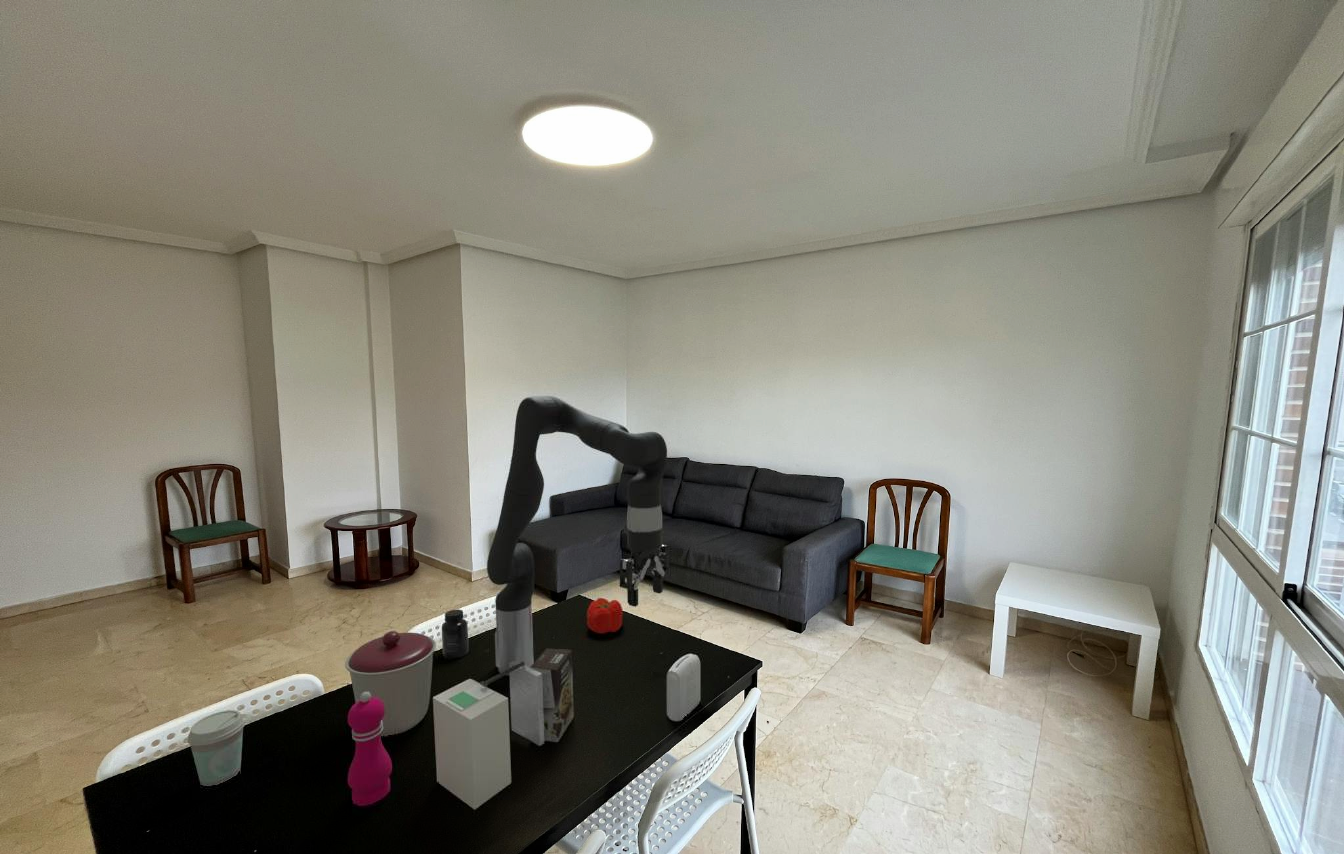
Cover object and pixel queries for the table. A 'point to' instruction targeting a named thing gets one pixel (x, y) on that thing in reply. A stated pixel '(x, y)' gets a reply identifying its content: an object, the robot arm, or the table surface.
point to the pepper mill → (368, 752)
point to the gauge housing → (472, 742)
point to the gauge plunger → (525, 701)
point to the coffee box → (556, 691)
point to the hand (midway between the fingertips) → (645, 598)
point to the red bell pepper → (604, 616)
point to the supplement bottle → (455, 635)
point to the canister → (395, 677)
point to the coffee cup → (217, 746)
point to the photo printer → (683, 687)
